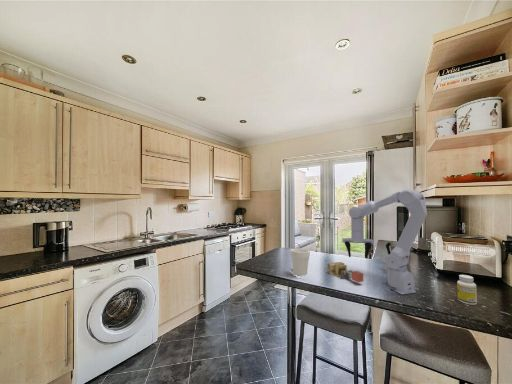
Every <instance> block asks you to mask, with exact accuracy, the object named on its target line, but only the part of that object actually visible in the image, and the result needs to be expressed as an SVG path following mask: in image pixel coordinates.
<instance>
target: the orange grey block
mask: <svg viewBox="0 0 512 384" xmlns="http://www.w3.org/2000/svg"><path fill="white" fill-rule="evenodd" d="M349 271H350V270H343V272H344V275H346V276H348V277H350V278H351V281H352V280H353V281H355V282H357V283H362V282H364V273H362V272H360V271H353V270H352V273H351V272H349Z"/></svg>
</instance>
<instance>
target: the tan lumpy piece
mask: <svg viewBox="0 0 512 384" xmlns="http://www.w3.org/2000/svg"><path fill="white" fill-rule="evenodd" d="M347 266H348V265H346V264H345V263H344V264H336V265H334V273H335V274H337V275H341V272H340V268H341V271H343V270H347V268H348V267H347ZM347 271H348V270H347Z"/></svg>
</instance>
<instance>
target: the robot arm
mask: <svg viewBox="0 0 512 384" xmlns="http://www.w3.org/2000/svg"><path fill="white" fill-rule="evenodd" d="M395 203H398V204H402V205H403V206H404V207H405V208H406V209H407V210H408V212H409V213H410V215H409V217H408V219H407V222H406V224H405V226H404V228H403V230H402V232H401V235H400V236H399V238H398V241H397V242H396V244H397V245H396V247H395V248H394V249H393V250H392V251H391V250H390V252H391V253H390V254H389V255H388V254H387V256H385V259H384V261H385V264H386V266H387V285H388V286H390V287H392V288H391V289H390V290H391V291H394V292H395V293H398V294H400V295H408V294H414V293H417V291H416V290H415V288H416V287H415V275H414V274H413V273H412V272H411V273H410V272H408V271H407V267H406V265H407V264H408V263H409V262H410V259H409V255H410V256H411V253H410V249H411V248H412V246H413V245H414V242H415V240H416V239H417V236H418V234H419V232H420V230H421V228H422V226H423V224H424V221H425V219H426V218H427V216H428V210H427V204H426V197H425V196H424V194H422V192H421V191H419V190H410V189H404V190H401V191H398V192H395V193H392V194H389V195H388V196H386V197H384V198H381V199H379V200H377V201H374V200H366V202H365V203H363V204H359V205H358V204H357V206H352V207H350V209H349V210H348V215H349V217H350V218H351V219H350V220H351V221H350V223H351V227H350V229H351V233H350V234H351V237H350V238H349V237H348V238H347V237H346V238H345V237H343V238H341V239H342V240H341V241H342V243H343V244H344V245H345V247H346V250H347V253H348V257H349V258H351V257H352V255H351V254H352V253H351V243H354V244H364V258H365V259H368V256H369V252H370V250H371V248H372V245H374V243H375V240H373V239H371V238H370V239H369V238H364V237H365V235H364V234H365V233H364V232H365V231H364V218H365V217H367V216H370V215H371V214H374V213H377V212H378V210H379V209H380V208H383V207H386V206H389V205H391V204H395ZM409 264H410V263H409Z"/></svg>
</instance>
